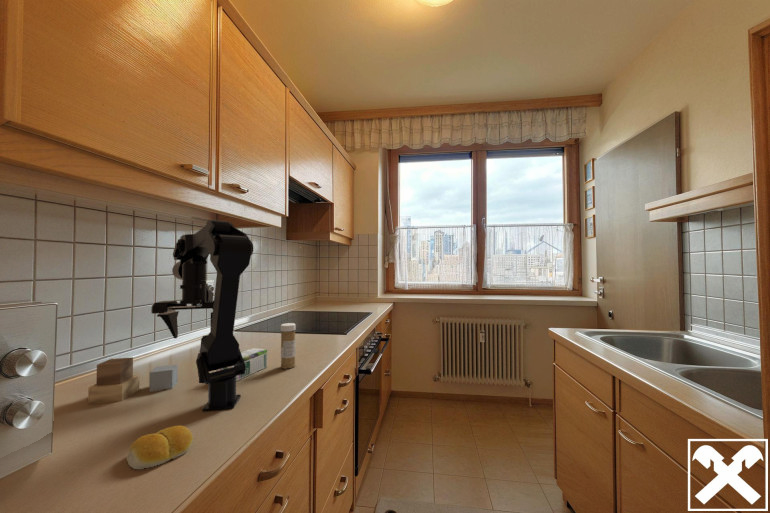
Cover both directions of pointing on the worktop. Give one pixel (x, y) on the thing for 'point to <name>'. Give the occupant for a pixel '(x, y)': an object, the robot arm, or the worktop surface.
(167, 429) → the bread roll
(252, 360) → the syrup box
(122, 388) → the oak base block
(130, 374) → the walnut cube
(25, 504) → the worktop surface
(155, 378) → the slate-grey cube
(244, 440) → the worktop surface
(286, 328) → the sprinkles bottle
